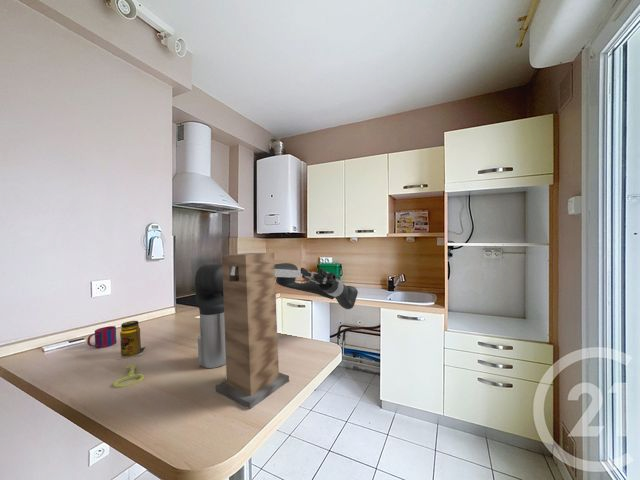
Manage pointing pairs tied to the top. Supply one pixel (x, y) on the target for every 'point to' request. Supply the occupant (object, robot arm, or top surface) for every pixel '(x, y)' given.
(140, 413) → the top surface
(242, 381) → the post
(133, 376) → the yellow-green flat looped piece
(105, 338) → the mug
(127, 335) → the condiment
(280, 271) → the pin
